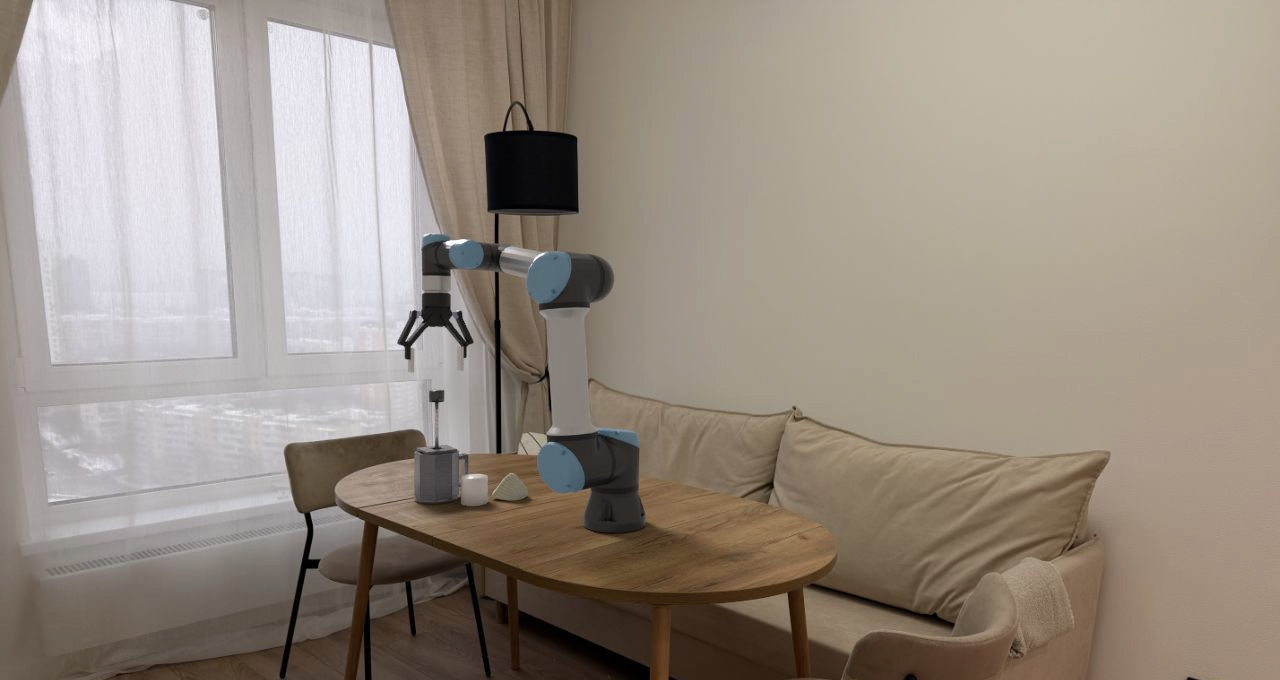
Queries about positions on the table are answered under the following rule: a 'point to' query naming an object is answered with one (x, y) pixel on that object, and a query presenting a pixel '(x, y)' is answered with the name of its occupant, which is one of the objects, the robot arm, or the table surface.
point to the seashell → (510, 489)
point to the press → (438, 474)
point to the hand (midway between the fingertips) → (436, 371)
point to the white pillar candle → (474, 489)
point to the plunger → (436, 411)
